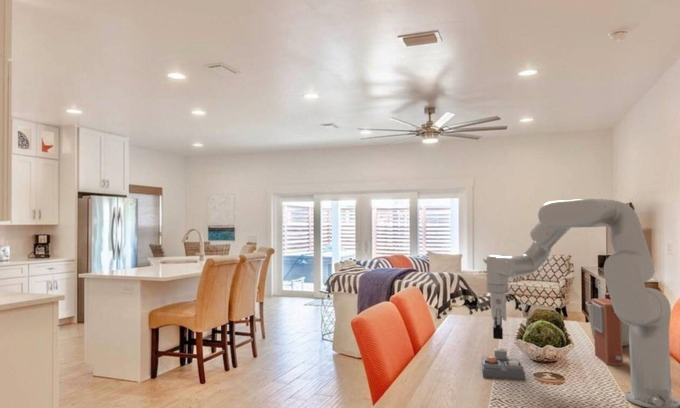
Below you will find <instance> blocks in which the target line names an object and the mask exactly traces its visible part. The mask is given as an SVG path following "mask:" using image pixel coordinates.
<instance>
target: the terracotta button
mask: <svg viewBox="0 0 680 408" xmlns="http://www.w3.org/2000/svg"><path fill="white" fill-rule="evenodd" d="M486 357H487V362H489V363H496V362H497V360H496V357H495V355H494V356H492V355H487V356H486Z"/></svg>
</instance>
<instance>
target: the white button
mask: <svg viewBox="0 0 680 408" xmlns="http://www.w3.org/2000/svg"><path fill="white" fill-rule="evenodd" d="M508 363H509V365H517V366H519V362H518V361H514V360H510V361H508Z"/></svg>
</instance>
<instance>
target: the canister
mask: <svg viewBox="0 0 680 408" xmlns="http://www.w3.org/2000/svg"><path fill="white" fill-rule="evenodd" d="M593 299H594V298H592V299H589V300H588V301H585V305H586V306H587V311H588V316H589V317H588V318H589V324H590V330H591V335H592V339H593V340H594V341H595V337H594V328H593V314H592V303H593ZM596 299H609V300H611V298H610V295H609V292H606V293H605V294H604V298H603V297H602V298H601V297H599V298H596ZM629 328H630V325H627V324H625V323H624V322H622V325H621V329H622V347H625V346H628V345H629Z"/></svg>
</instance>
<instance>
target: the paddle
mask: <svg viewBox="0 0 680 408" xmlns="http://www.w3.org/2000/svg"><path fill="white" fill-rule="evenodd" d="M493 349H494V356H495V357H496V359H501V360H507V356H508V354H507V351H508V350H507V348H493Z"/></svg>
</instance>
